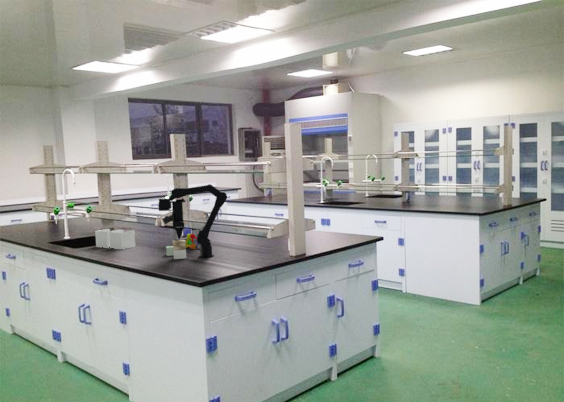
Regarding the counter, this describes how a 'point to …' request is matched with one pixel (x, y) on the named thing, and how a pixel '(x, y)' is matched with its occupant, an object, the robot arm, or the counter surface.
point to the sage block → (169, 250)
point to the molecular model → (193, 244)
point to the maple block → (179, 245)
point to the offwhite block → (179, 254)
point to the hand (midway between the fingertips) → (178, 237)
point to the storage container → (115, 239)
